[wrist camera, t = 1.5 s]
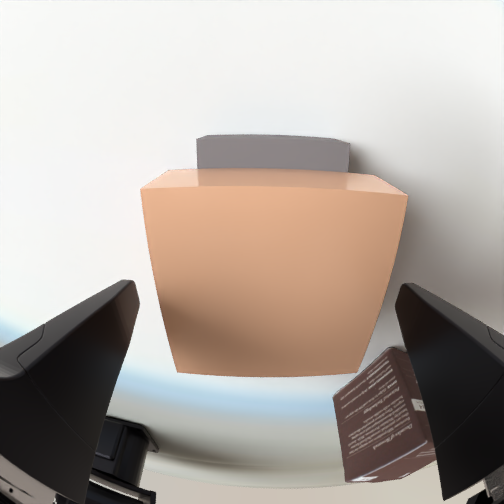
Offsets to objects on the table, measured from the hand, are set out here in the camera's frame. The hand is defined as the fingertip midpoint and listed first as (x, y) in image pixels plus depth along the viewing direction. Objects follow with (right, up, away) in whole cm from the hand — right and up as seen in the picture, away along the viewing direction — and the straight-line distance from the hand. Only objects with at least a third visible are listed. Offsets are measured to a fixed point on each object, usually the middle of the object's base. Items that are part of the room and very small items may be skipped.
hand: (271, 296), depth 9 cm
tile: (0, +1, +2) cm, 2 cm away
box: (+9, -8, +9) cm, 15 cm away
